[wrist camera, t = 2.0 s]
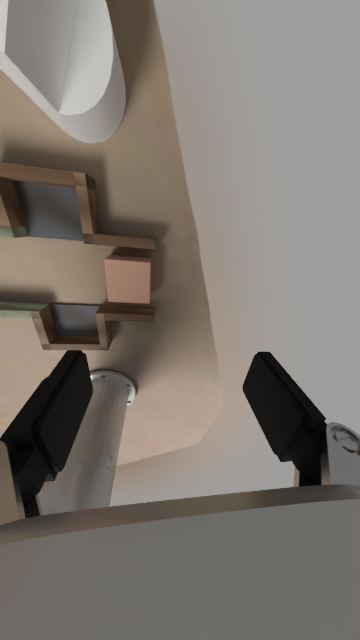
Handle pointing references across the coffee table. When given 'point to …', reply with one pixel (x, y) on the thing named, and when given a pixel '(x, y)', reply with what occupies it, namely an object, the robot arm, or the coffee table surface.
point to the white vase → (65, 63)
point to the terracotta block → (128, 279)
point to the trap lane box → (71, 224)
